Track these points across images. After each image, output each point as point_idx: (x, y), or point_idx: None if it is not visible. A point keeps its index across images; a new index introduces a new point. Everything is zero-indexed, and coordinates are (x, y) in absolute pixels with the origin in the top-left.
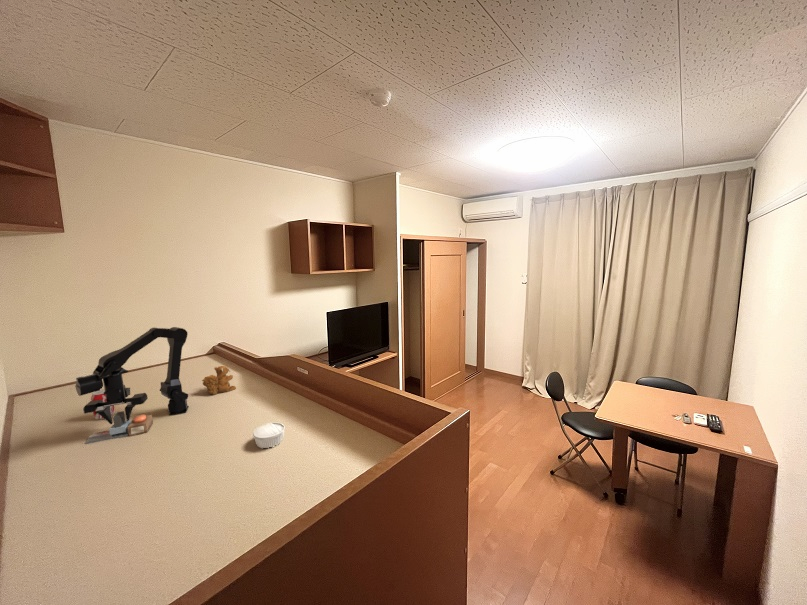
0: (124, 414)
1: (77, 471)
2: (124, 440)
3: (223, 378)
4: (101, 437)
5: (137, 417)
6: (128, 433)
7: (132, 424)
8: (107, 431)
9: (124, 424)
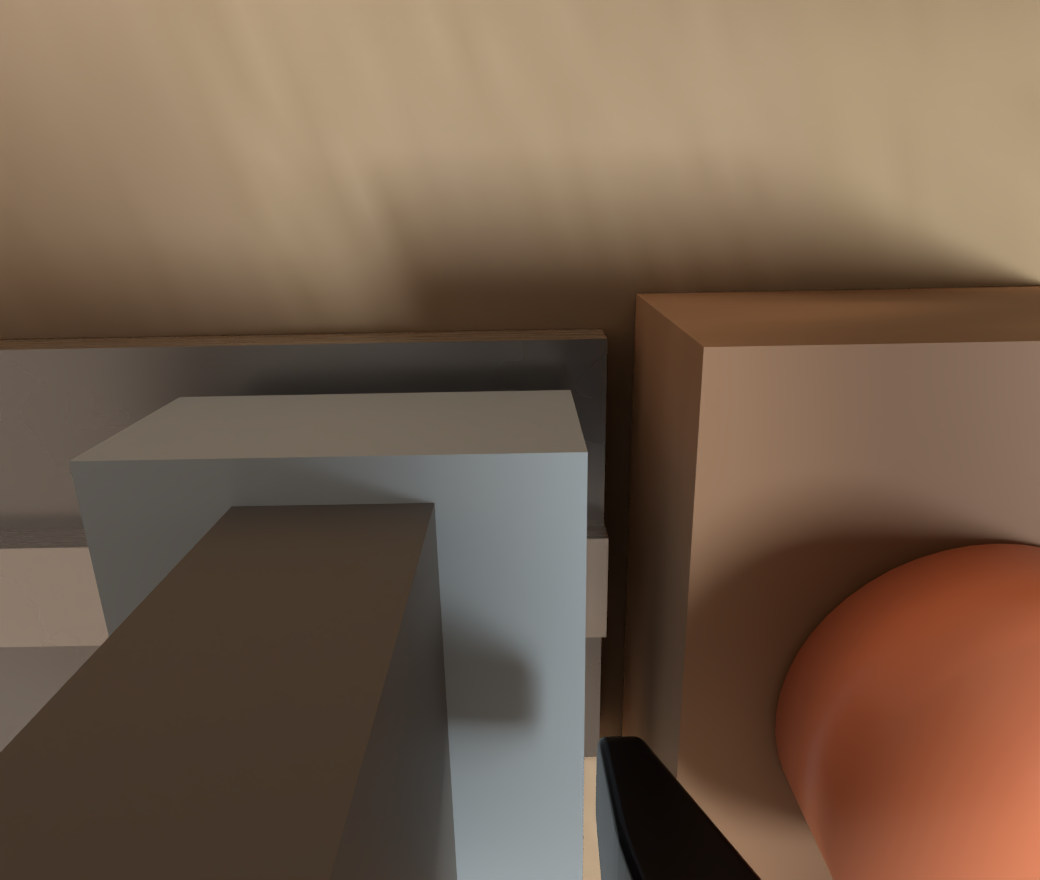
0: (380, 704)
1: None
2: (587, 867)
3: None
4: (58, 687)
5: (978, 820)
6: (599, 706)
7: (764, 871)
8: (8, 410)
9: (508, 778)
